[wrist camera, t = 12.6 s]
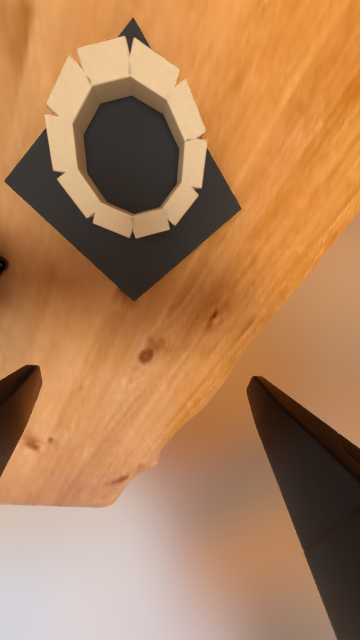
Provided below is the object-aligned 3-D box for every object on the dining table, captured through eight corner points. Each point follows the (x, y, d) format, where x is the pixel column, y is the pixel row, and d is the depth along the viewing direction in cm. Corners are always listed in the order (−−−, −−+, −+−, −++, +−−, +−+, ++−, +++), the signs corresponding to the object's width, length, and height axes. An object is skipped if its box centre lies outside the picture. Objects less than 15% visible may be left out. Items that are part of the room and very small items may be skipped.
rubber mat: (134, 299, 20) (134, 301, 20) (7, 181, 14) (3, 181, 14) (239, 208, 17) (241, 208, 17) (133, 21, 12) (133, 16, 12)
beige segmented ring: (123, 255, 18) (120, 262, 15) (26, 125, 13) (4, 110, 11) (218, 190, 16) (229, 189, 14) (148, 20, 12) (149, -19, 10)
